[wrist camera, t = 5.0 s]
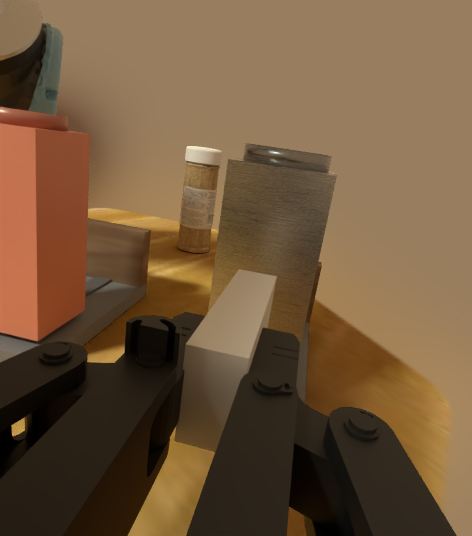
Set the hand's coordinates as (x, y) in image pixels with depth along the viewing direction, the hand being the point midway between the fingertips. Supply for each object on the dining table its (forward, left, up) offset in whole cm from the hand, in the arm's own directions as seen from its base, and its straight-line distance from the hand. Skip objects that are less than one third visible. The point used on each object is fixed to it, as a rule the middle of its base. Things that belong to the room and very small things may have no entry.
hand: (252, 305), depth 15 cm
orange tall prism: (-16, +1, -7) cm, 18 cm away
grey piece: (-18, +5, -8) cm, 20 cm away
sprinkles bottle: (-24, +29, -9) cm, 39 cm away
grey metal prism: (-2, +6, -7) cm, 10 cm away
